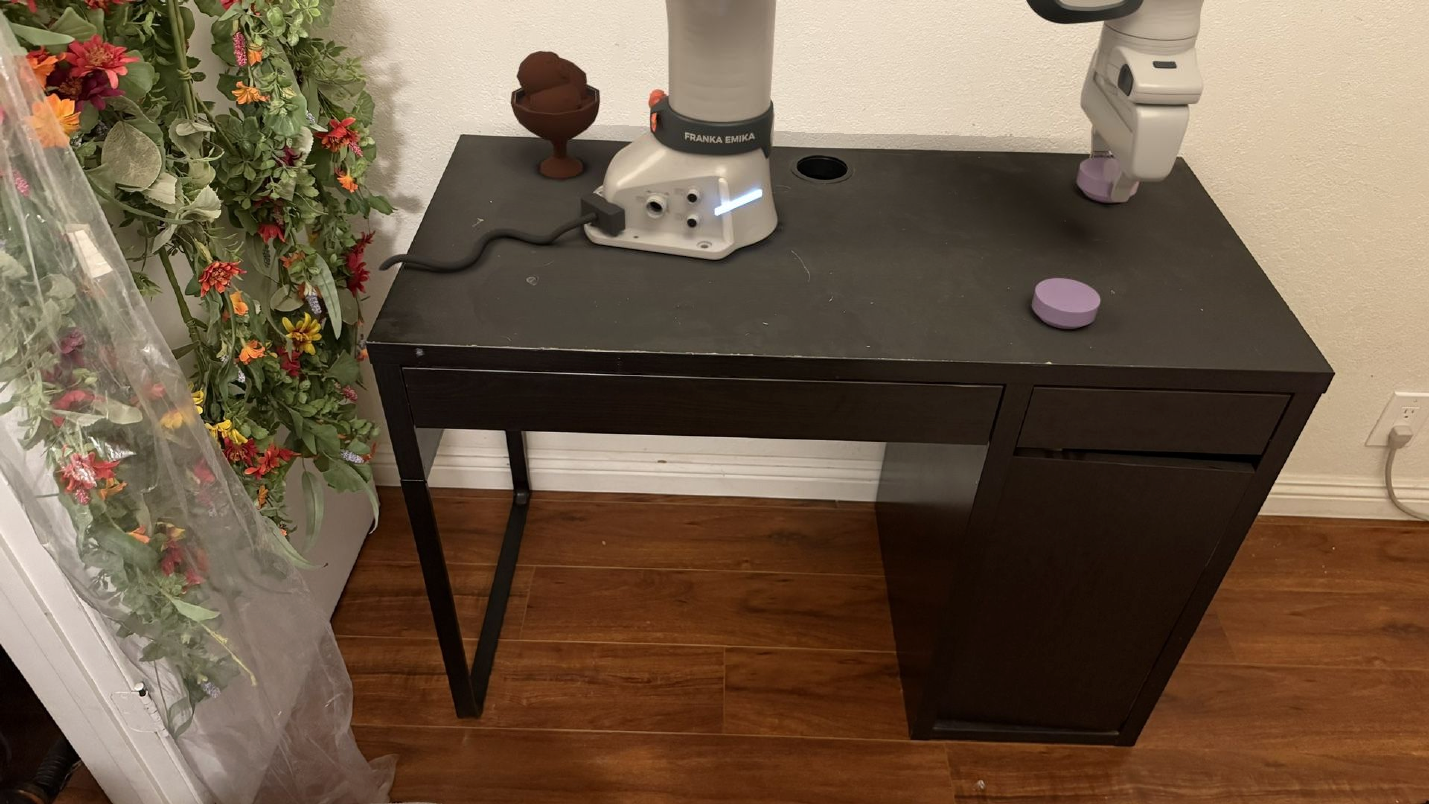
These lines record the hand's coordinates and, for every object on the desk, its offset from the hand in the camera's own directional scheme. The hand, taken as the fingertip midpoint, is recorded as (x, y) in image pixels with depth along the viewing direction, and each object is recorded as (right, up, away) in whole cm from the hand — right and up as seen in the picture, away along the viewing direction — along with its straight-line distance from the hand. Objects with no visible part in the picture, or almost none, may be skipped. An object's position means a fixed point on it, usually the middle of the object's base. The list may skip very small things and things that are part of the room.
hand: (1107, 182), depth 108 cm
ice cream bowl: (-62, +6, +18) cm, 65 cm away
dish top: (0, -1, +1) cm, 1 cm away
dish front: (-7, -15, -6) cm, 17 cm away
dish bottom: (+6, +2, +16) cm, 17 cm away
